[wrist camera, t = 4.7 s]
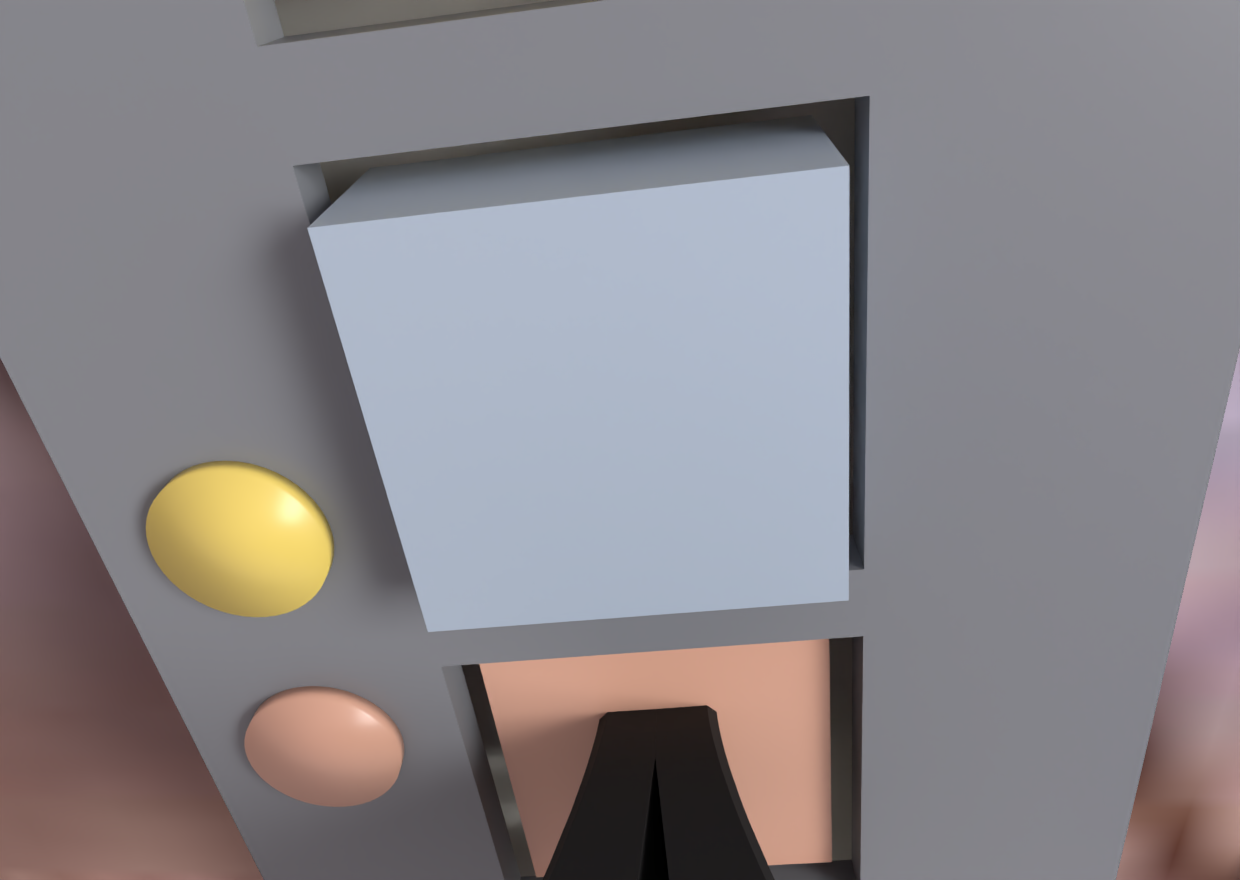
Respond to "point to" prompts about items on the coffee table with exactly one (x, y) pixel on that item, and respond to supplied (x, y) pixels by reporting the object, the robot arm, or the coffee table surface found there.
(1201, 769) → the coffee table surface
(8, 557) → the coffee table surface
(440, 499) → the key
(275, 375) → the keypad
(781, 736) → the key
